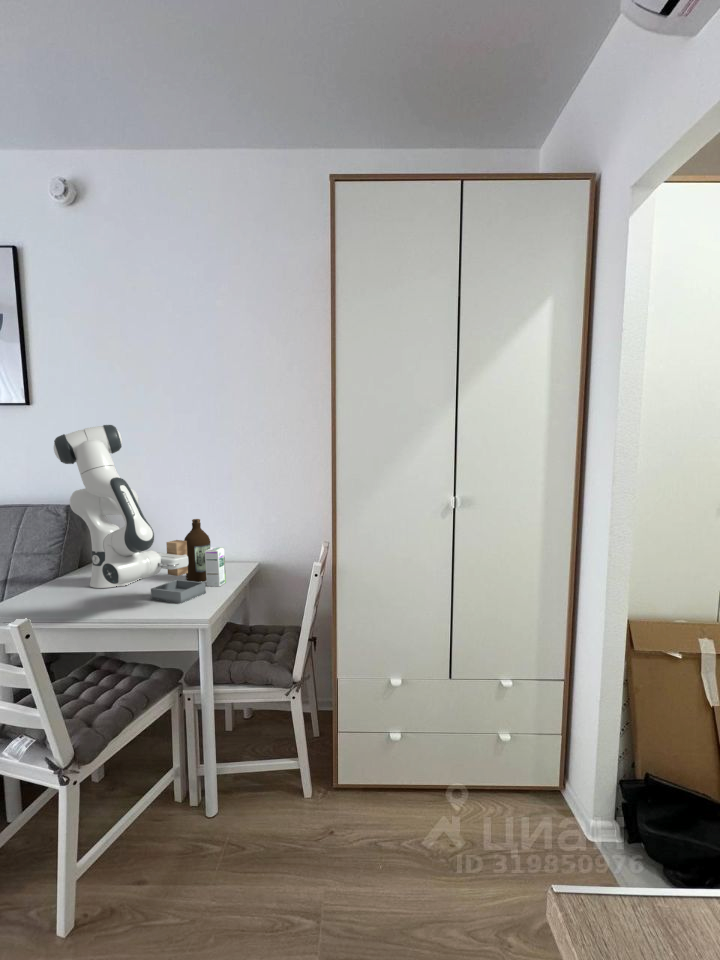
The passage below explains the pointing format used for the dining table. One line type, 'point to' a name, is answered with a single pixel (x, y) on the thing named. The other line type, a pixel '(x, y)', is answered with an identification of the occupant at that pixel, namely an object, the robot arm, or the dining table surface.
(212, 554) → the syrup box
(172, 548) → the wooden block
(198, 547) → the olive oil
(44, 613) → the dining table surface
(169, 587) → the bin
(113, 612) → the dining table surface
